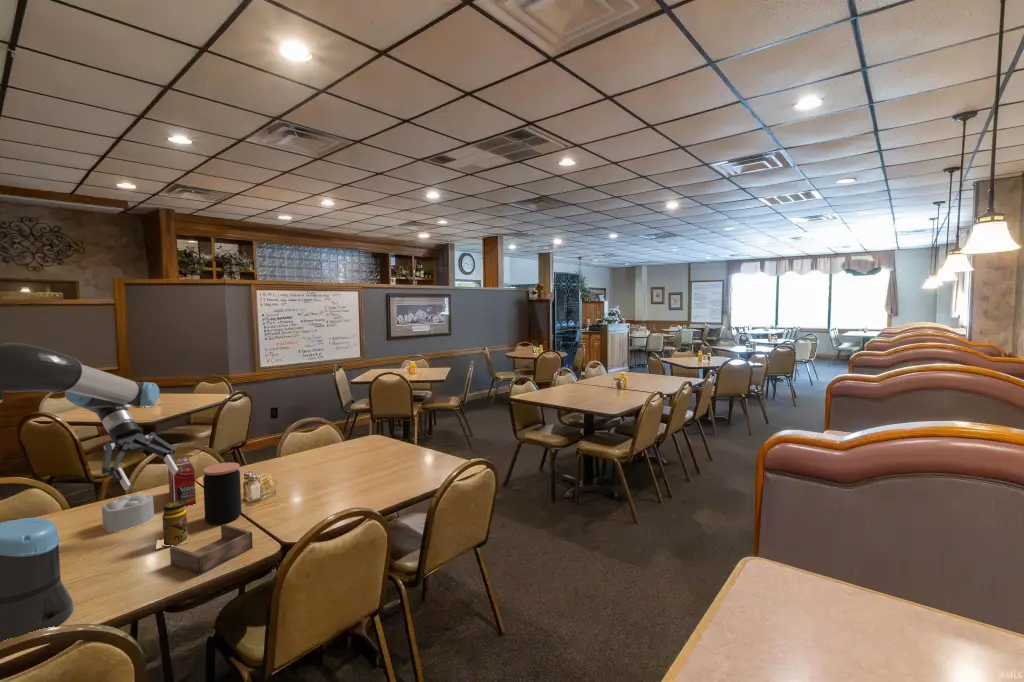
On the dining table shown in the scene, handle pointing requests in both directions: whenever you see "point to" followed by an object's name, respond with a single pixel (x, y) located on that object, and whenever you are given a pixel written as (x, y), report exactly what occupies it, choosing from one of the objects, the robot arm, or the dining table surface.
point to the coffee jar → (222, 493)
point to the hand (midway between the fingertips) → (152, 479)
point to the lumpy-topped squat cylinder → (127, 512)
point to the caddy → (213, 551)
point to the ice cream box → (182, 482)
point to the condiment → (174, 523)
